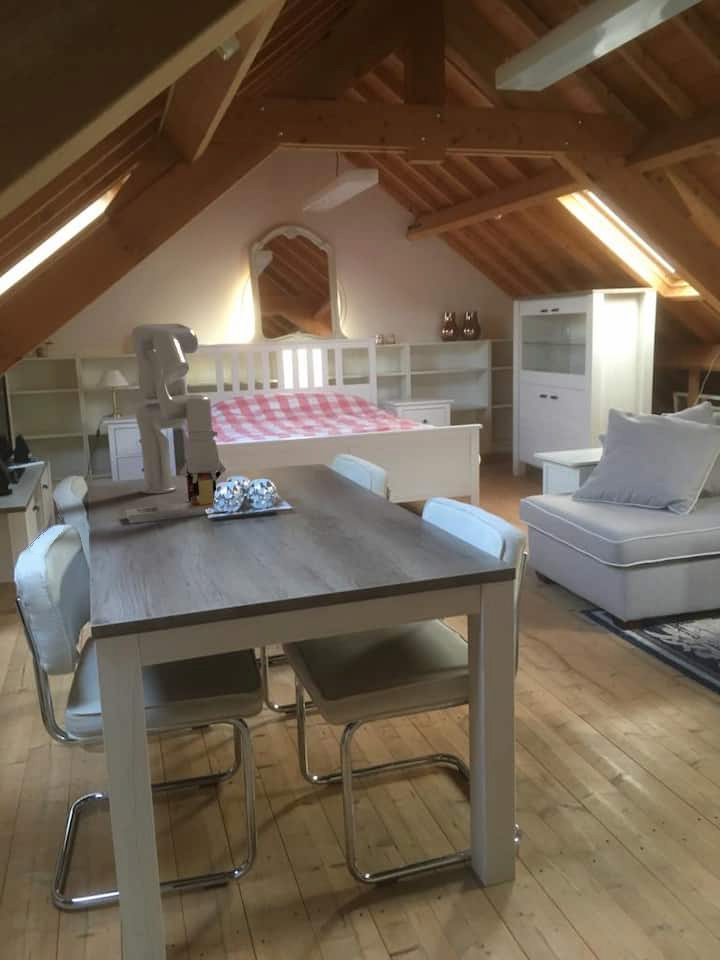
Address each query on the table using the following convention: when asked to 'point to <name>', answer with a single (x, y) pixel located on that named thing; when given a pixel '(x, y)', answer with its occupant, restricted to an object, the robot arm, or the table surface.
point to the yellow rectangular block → (205, 491)
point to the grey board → (166, 512)
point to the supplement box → (190, 487)
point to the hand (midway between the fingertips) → (204, 493)
